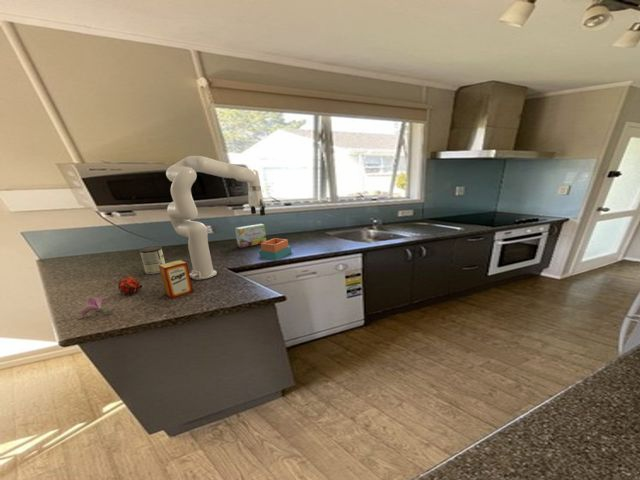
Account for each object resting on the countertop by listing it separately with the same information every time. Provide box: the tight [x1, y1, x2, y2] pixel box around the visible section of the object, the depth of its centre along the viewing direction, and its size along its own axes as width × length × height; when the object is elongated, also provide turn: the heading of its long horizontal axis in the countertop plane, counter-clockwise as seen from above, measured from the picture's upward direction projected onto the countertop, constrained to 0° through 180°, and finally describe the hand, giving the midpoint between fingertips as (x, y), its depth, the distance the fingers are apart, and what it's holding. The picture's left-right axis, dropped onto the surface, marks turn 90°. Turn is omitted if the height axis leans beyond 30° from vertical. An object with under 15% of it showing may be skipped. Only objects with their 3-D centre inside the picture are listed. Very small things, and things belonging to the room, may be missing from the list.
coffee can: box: [138, 245, 166, 275], centre depth 168 cm, size 10×10×14 cm
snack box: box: [234, 223, 267, 249], centre depth 222 cm, size 21×6×15 cm, turn 143°
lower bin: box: [258, 245, 292, 261], centre depth 198 cm, size 16×13×6 cm
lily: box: [78, 292, 110, 320], centre depth 121 cm, size 12×12×10 cm
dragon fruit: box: [117, 276, 143, 296], centre depth 142 cm, size 8×8×12 cm
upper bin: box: [260, 237, 289, 252], centre depth 197 cm, size 14×11×10 cm
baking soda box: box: [159, 259, 194, 299], centre depth 140 cm, size 10×6×16 cm
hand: (258, 214), depth 192 cm, fingers open, 9 cm apart
